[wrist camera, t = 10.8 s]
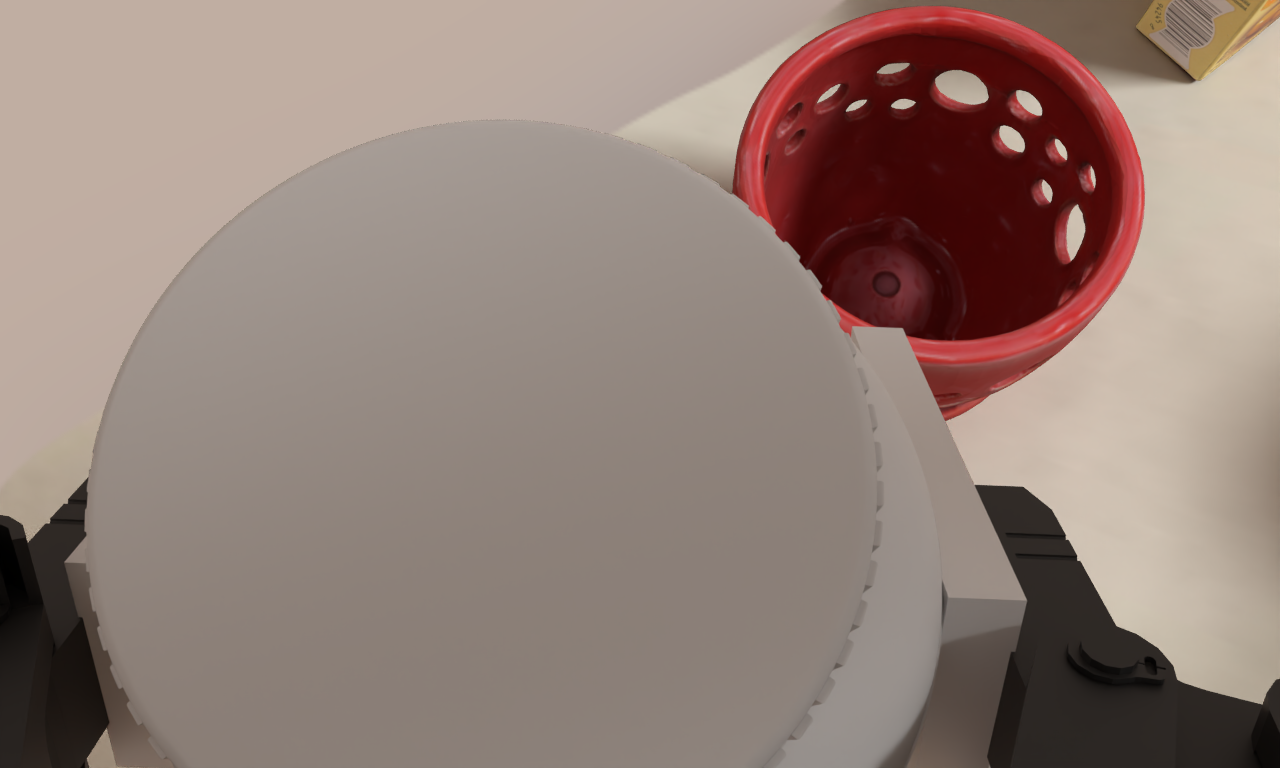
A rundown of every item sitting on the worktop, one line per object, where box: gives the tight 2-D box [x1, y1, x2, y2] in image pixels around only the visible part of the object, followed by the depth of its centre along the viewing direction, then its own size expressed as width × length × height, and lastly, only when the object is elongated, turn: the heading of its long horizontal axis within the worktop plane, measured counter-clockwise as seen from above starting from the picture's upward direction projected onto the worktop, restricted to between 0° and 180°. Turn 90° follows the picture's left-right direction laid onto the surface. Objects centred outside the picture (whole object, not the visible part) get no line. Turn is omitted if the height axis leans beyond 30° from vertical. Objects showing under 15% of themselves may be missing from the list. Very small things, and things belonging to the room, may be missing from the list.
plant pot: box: [732, 6, 1145, 421], centre depth 40 cm, size 13×13×12 cm
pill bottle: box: [84, 120, 943, 768], centre depth 14 cm, size 8×8×15 cm
